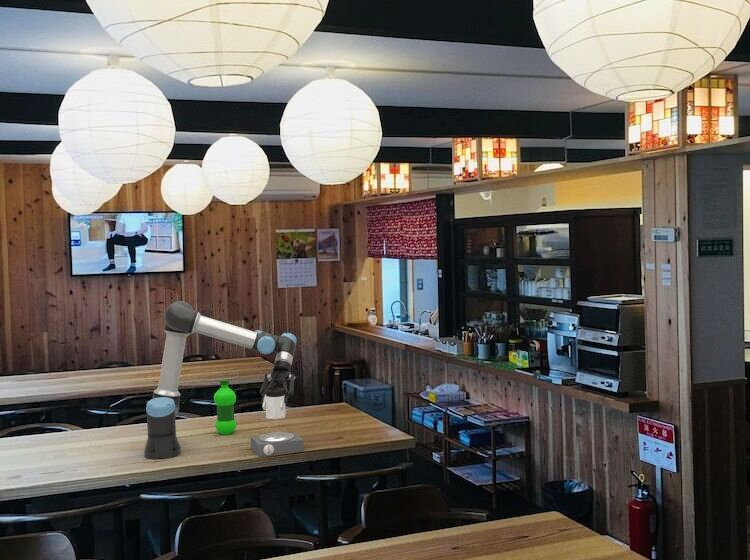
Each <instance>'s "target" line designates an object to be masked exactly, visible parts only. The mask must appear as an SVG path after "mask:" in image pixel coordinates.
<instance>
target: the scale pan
mask: <svg viewBox="0 0 750 560" xmlns="http://www.w3.org/2000/svg"><path fill="white" fill-rule="evenodd" d="M258 436H259V440H260V441H262V442H271V443H274V442H284V441H289V440H292V439H293V438H294V434H292V433H287V432H286V431H285V432H284V431H275V432H268V433H264V434H261V435H258Z"/></svg>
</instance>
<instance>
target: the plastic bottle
mask: <svg viewBox="0 0 750 560" xmlns="http://www.w3.org/2000/svg"><path fill="white" fill-rule="evenodd" d="M229 384H230V380H229V379H220V380H219V385H220V388H218V390H217V391H216V392H215V393H214V395H213V402H214V404H215V405H216V417H217V420H216V421H215V428H216V431H217V432H218V433H220V435H232V433H233V432H234V431H236V429H237V422H236V419H235V405H234V404H235V403H236V401H237V395H236V393H235V391H233V389H232V388H230V387H229Z"/></svg>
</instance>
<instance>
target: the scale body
mask: <svg viewBox="0 0 750 560" xmlns="http://www.w3.org/2000/svg"><path fill="white" fill-rule="evenodd" d="M287 433H292V434H294V438H293V439H292V440H289V441H284V442H274V443H271V442H262V441H260V440H259V436H260V435H253V436H252V435H251V436H250V449H251V448H252V449H251V450H252V451H253V450H254V451H253V452H254V453H255V454H256V455H257V456H258V457H261V458H262V457H268V456H275V455H276V456H277V455H284V454H285V455H286V454H292V453H294V454H295V453H301V452H304V439H303V438H302V437H300V436H299V435H298V434H297V433H295V432H294V431H289V432H287Z"/></svg>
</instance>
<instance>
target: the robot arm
mask: <svg viewBox="0 0 750 560" xmlns="http://www.w3.org/2000/svg"><path fill="white" fill-rule="evenodd" d="M163 317H164V326H163V331H164V333H165V334H166V335H165V336H166V337H165V342H164V347H163V348H164V349H163V355H162V361H161V365H160V366H161V367H160V373H159V379H158V385H157V388H156V389H154V390H153V394H152V398H151V399H150V400H148V401H147V403H146V407H145V411H146V421H147V423H146V424H147V425H146V426H147V427H146V428H147V439H146V442H145V447H144V451H143V457H144V458H146V457H147V459H150V458H152V459H151V460H160V459H159V458H163V459H168V458H167V457H170V458H173V457H172V456H174V457H177V456H179V455H181V454H182V448H181V447H182V446H181V444H180V442H179V439H178V437H177V432H176V431H177V430H176V429H177V427H176V418H177V416H178V414H179V410H180V399H181V393H180V391H179V384H180V378H181V371H182V365H183V361H184V353H185V346H186V342H187V341H186V340H187V337H188V336H190V335H192V334H195V333H196V334H200V335H203V336H207V337H210V338H214V339H217V340H220V341H224V342H227V343H230V344H234V345H237V346H240V347H244V348H247V349H250V350H253V351H257V352H259V353H261V354H263V355H269V354H271V353H272V352H273V353H275V354H276V355H275V358H274V360H275V361H274V364H273V369H272V372H271V373H270V374H268V373H265V374H264V379H263V382H262V385H261V387H260V389H259V394H260V396H261V401H262V409H263V411H266V389H268V388H275V386H276V385H277V384H282V388H284V389H285V394H284V399H283V400H282V401H281V405H280V408H281V410H282V411H283V409H284V405H285V406H286V404H287V403H288V400H289V397H294V387H295V380H296V379H297V377H296V375H295V374H294V373H292V374H290V373H291V368H292V364H293V359H294V355H295V353H296V352H295V351H296V347H297V340H298V339H297V337H296V336H295V335H294V334H293V333H290V332H284V333H282V334H281V335H276V334H273V333H270V332H266V331H264V330H259V329H256V330H255V331H253V330H249V329H247V328H244V327H241V326H237V325H234V324H231V323H227V322H223V321H220V320H217V319H214V318H211V317H208V316H205V315H202V314H201V313H200V311H195V310H194V308H193V306H192V304H190V303H188V302H186V301H182V300H178V301H174V302H172V303H171V304H169V306H168V307H167V308H166V309H165V312H164V315H163ZM287 380H289V388H288V387H287V386H288V383H287ZM180 453H181V454H180ZM176 455H177V456H176Z"/></svg>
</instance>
